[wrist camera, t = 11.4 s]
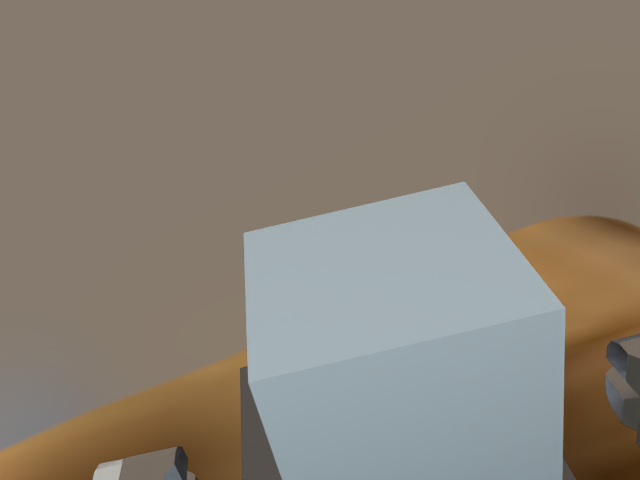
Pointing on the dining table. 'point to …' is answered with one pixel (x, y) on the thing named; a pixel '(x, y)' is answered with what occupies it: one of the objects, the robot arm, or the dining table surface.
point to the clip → (404, 345)
